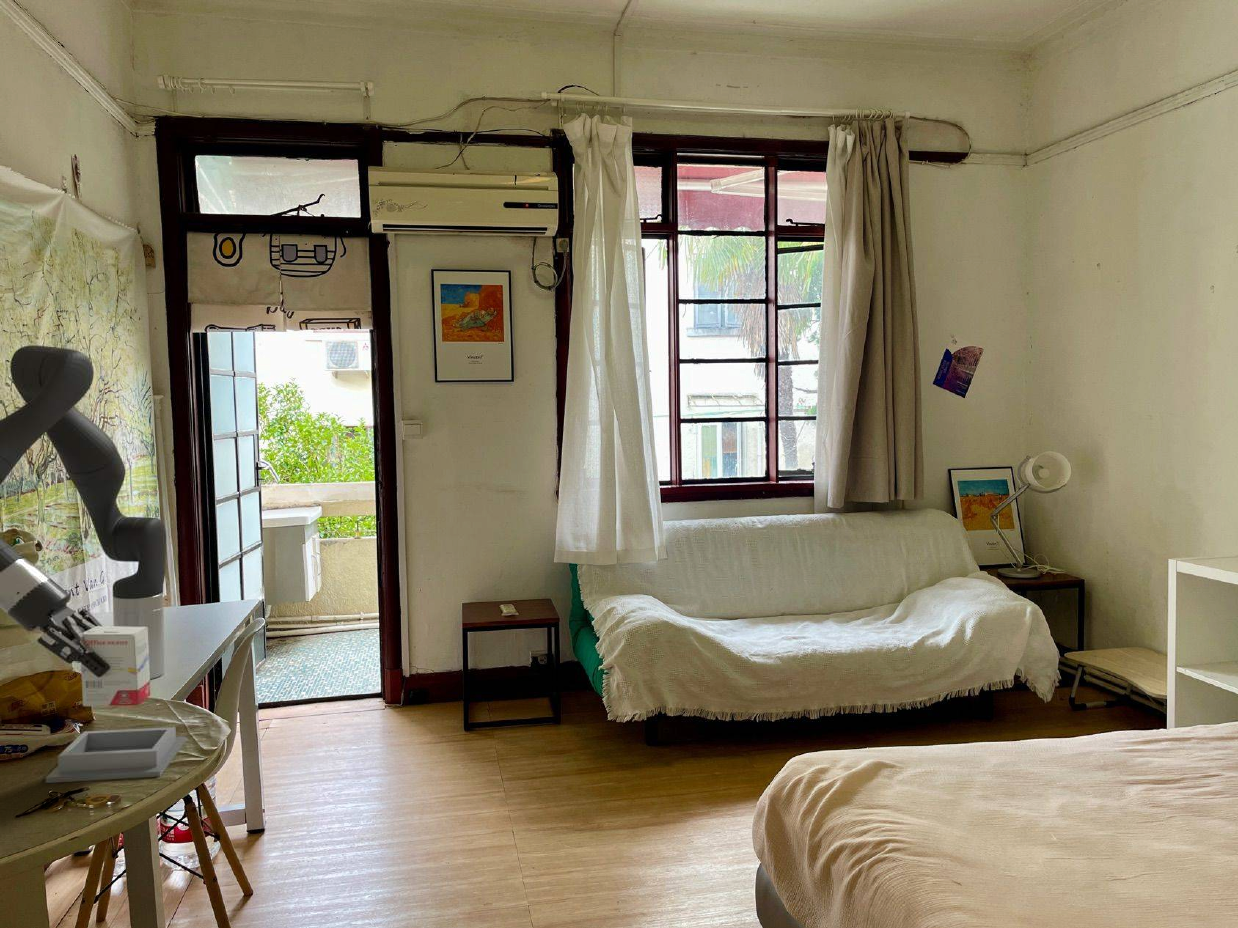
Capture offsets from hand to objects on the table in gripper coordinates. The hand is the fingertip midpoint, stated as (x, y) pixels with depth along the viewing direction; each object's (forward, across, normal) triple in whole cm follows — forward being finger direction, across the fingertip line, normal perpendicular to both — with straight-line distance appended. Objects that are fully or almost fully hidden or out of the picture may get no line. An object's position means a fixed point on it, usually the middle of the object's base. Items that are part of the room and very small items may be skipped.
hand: (112, 666), depth 140 cm
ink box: (+5, 0, +4) cm, 6 cm away
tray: (+12, 0, +10) cm, 16 cm away
